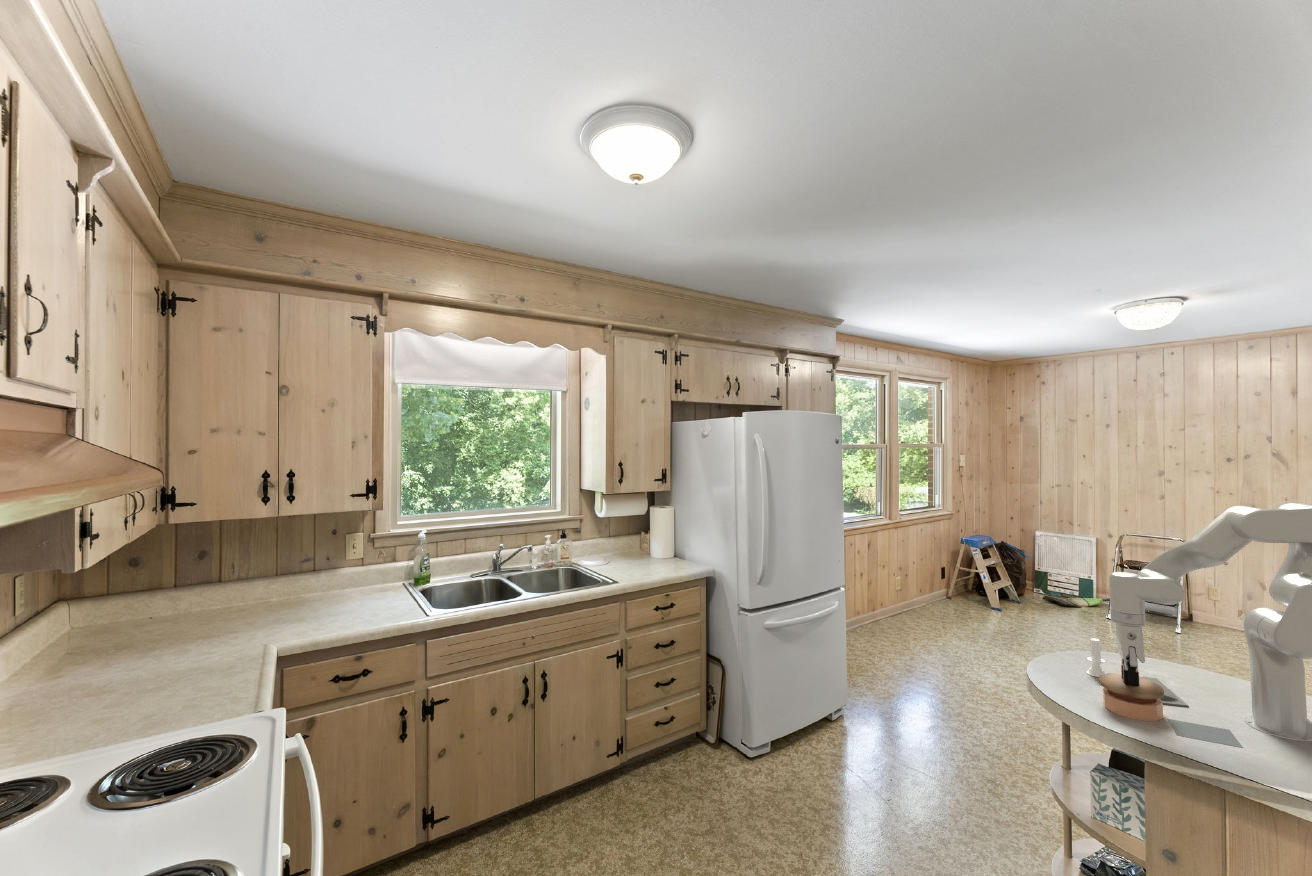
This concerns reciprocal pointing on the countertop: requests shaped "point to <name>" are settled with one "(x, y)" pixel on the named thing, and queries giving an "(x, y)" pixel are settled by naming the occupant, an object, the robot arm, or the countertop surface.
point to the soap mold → (1167, 694)
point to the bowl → (1133, 706)
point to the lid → (1143, 691)
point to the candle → (1095, 658)
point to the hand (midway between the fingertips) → (1130, 682)
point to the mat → (1204, 733)
